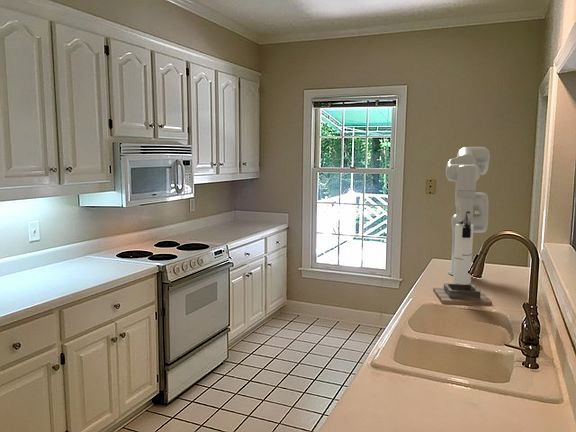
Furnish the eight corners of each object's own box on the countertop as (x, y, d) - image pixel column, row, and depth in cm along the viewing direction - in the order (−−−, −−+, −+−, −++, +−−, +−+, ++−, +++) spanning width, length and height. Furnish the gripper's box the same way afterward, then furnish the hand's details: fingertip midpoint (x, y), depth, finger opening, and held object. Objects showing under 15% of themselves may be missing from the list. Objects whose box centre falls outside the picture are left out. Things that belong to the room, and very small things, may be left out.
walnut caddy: (433, 290, 225) (433, 280, 225) (478, 292, 223) (479, 282, 223) (442, 303, 206) (442, 293, 205) (492, 305, 203) (492, 294, 203)
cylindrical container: (472, 284, 209) (474, 226, 206) (454, 284, 211) (456, 225, 208) (469, 280, 216) (472, 224, 213) (452, 279, 218) (454, 223, 215)
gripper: (452, 192, 218) (450, 232, 220) (461, 196, 201) (459, 239, 203) (469, 193, 217) (467, 233, 219) (480, 196, 200) (478, 239, 202)
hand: (463, 235), depth 211 cm, fingers closed on cylindrical container, 7 cm apart
